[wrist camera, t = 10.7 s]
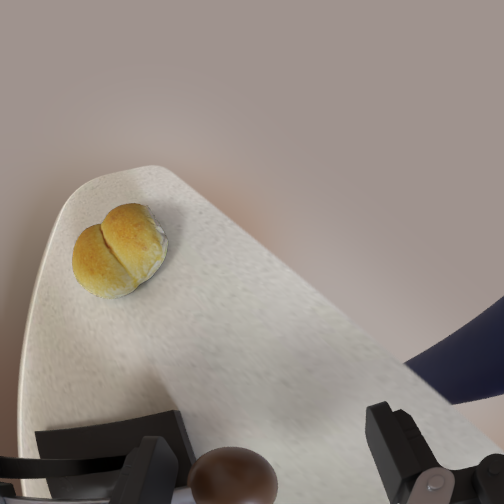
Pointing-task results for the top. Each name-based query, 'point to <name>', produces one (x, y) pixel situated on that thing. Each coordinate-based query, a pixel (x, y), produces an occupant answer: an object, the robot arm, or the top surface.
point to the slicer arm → (200, 482)
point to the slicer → (97, 455)
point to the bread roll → (119, 252)
